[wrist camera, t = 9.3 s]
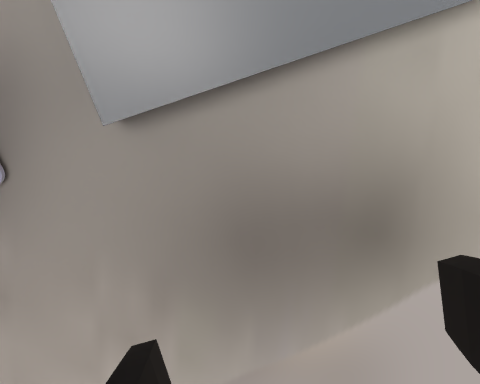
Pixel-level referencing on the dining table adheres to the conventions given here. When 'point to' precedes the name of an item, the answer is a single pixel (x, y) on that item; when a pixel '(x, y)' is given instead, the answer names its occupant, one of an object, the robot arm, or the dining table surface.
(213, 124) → the dining table surface
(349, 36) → the hole board
